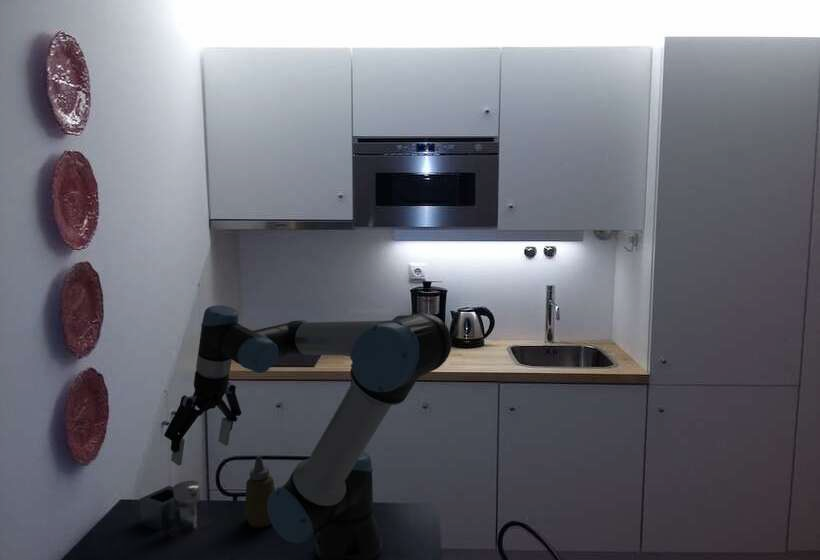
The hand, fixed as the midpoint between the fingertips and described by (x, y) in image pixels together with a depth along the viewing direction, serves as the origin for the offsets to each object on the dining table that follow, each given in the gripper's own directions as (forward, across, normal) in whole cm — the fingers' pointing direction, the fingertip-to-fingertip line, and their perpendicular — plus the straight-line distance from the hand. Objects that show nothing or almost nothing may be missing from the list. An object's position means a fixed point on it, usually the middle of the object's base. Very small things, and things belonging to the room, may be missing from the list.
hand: (200, 452), depth 143 cm
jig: (+24, 0, -5) cm, 24 cm away
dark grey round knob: (+21, 0, 0) cm, 21 cm away
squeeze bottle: (+19, -11, +13) cm, 26 cm away
